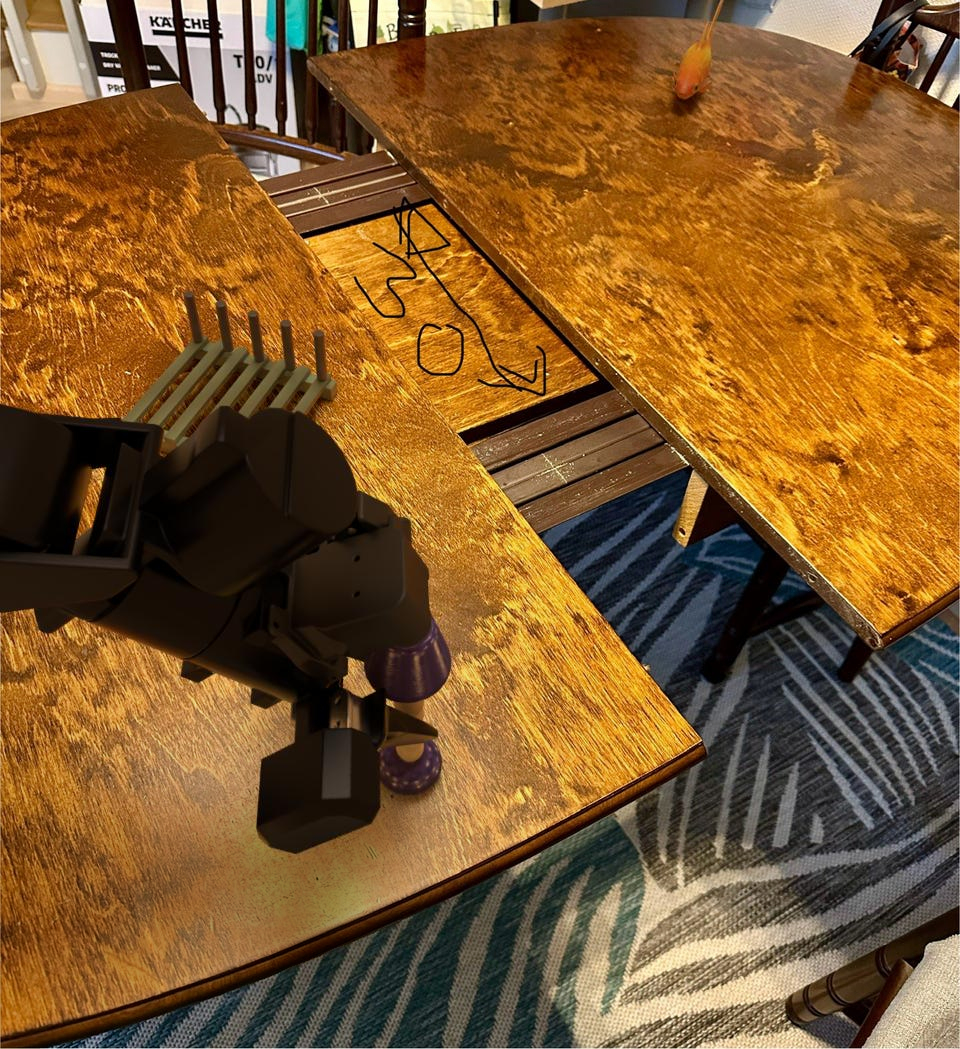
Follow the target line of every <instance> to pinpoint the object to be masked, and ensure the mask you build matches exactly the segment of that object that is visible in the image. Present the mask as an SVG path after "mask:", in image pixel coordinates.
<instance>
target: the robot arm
mask: <svg viewBox="0 0 960 1049" xmlns="http://www.w3.org/2000/svg"><path fill="white" fill-rule="evenodd" d="M211 412H212V411H211ZM211 412H210V413H211ZM210 413H209V414H210ZM209 414H208V415H206V417H205V418H203V419H202V421H200V423H199V424H198V425H197V428H196V429H195V430H194V432H193V433H192V434H191V435H190V436H188V438H187V439H186V440H185V441H184V442H182V443H181V444H180V445H179V446H177V447H176V448H175V449H174V450H172V451H171V452H170V453H166V455H165V456H163V455H161V454H162V451H161V450H162V444H163V439H164V433H165V432H164V430H165V428H163V427H161V426H159V425H157V424H149V423H148V422H142V423H138V422H128V421H122V419H123V418H122V417H119V416H117V417H116V416H115V417H93V418H92V417H87V416H84V417H83V416H75V415H64V414H53V413H43V412H34V411H32V410H28V409H24V408H22V407H21V408H20V407H16V406H12V405H8V404H4V403H0V614H5V613H12V612H20V611H27V610H33V611H34V618H35V622H36V625H37V629H38V631H40V633H42V634H46V635H51V634H55V633H56V632H57V631H59V630H60V629H62V628H63V627H65V626H66V625H67V624H69V623H70V622H71V621H73V620H74V619H75V618H76V619H79V620H82V621H85V622H86V623H89V624H91V625H94V626H96V627H99V628H101V629H104V630H106V631H109V632H111V633H114V634H117V635H119V636H120V637H124V638H127V639H128V640H132V641H133V642H136V643H138V644H141V645H144V646H145V647H149V648H151V649H154V650H156V651H158V652H161V653H163V654H166V655H168V656H171V657H174V658H176V659H179V660H181V661H182V664H181V669H180V678H183V679H185V680H189V681H191V682H194V683H196V684H200V683H202V682H203V681H205V680H206V679H208V678H210V677H212V676H213V675H215V674H216V675H218V676H221V677H223V678H226V679H229V680H231V681H233V682H236V683H238V684H240V685H243V686H245V687H248V688H251V690H250V700H249V704H250V705H252V706H255V707H258V708H261V709H264V710H268V709H270V708H272V707H273V706H275V705H277V704H280V703H281V702H286V703H289V704H290V714H289V715H290V716H289V717H290V718H289V725H290V726H291V727H293V728H294V742H293V743H291V744H288V745H287V746H284V747H282V748H280V749H279V750H277V751H274V752H272V753H271V754H268V755H266V756H264V757H262V758H260V769H259V770H260V771H259V782H258V793H257V794H258V796H257V809H256V821H255V829H256V833H257V837H258V839H259V840H261V841H262V842H263V843H264V844H265V845H266V846H267V847H268V848H271V849H274V850H278V851H281V852H285V853H289V854H293V855H298V854H300V853H304V852H306V851H308V850H311V849H313V848H315V847H318V846H320V845H323V844H325V843H328V842H330V841H333V840H335V839H338V838H341V837H342V836H345V835H347V834H350V833H353V832H355V831H357V830H360V829H362V828H365V827H368V826H370V825H372V824H373V822H374V821H375V819H376V817H377V815H378V814H379V812H380V810H381V808H382V805H381V803H382V799H381V796H382V795H381V794H382V793H381V780H380V753H379V750H380V748H388V747H396V746H404V745H413V744H421V743H427V742H429V741H431V740H433V741H435V740H436V739H438V738H439V736H440V735H439V729H437V728H435V727H434V726H433V725H431V724H430V723H428V722H426V721H424V719H423V720H420V719H418V718H416V717H414V716H411V715H409V714H407V713H404V712H402V711H400V710H398V709H395V708H394V707H393V706H390V705H388V704H387V699H386V689H385V688H384V687H383V688H381V689H379V690H377V691H375V690H374V691H373V692H371V693H369V694H367V695H365V696H363V697H362V696H360V695H357V694H356V693H355V694H354V693H353V692H352V691H351V690H349V689H347V688H345V687H344V677H346V676H348V675H349V659H352V660H355V661H358V662H362V663H364V658H365V655H366V654H370V653H374V652H378V651H381V650H385V649H389V648H393V647H397V646H404V647H406V646H410V645H414V644H416V643H418V642H420V641H422V640H423V639H424V638H425V637H426V636H427V634H428V633H429V631H430V629H431V624H432V617H431V615H432V612H431V609H430V608H431V606H430V589H429V580H430V569H429V567H428V565H427V564H426V563H425V562H424V560H423V559H422V557H421V556H420V554H419V553H418V552H417V550H416V549H415V547H414V546H413V535H412V534H413V531H412V521H411V519H410V518H408V517H406V516H398V514H396V513H395V511H394V510H393V508H392V507H391V506H390V504H388V503H386V502H385V501H383V500H380V499H379V498H376V497H374V496H372V495H371V494H369V493H367V492H364V491H362V490H358V486H357V481H356V478H355V476H354V473H353V470H352V467H351V465H350V464H349V462H348V460H347V458H346V456H345V454H344V452H343V451H342V449H341V448H340V447H339V445H338V444H337V443H336V441H335V440H334V438H332V436H331V435H330V434H329V433H328V432H327V431H326V430H325V428H323V427H322V426H321V425H320V424H318V423H317V422H316V421H315V420H314V419H312V418H311V417H310V416H308V414H307V415H305V414H303V413H302V412H300V411H296V412H293V411H290V410H288V409H286V408H285V409H282V408H272V407H269V406H268V407H266V408H265V407H264V408H262V409H258V410H257V411H256V412H255V414H254V415H252V416H251V417H250V418H247V417H245V416H244V415H242V414H240V413H239V411H237V410H236V409H234V407H233V408H231V407H229V406H219V407H218V408H217V409H216V410H214V411H213V412H212V413H211V414H210V415H209ZM98 469H105V470H104V473H103V474H104V475H103V478H102V483H101V487H100V491H99V496H98V501H97V505H96V510H95V513H94V519H93V522H92V526H91V527H89V528H88V529H86V531H84V532H83V533H81V534H80V535H79V536H78V532H79V527H80V523H81V521H82V520H81V519H82V516H83V511H84V507H85V503H86V498H87V495H88V490H89V487H90V482H91V478H92V474H93V470H98Z"/></svg>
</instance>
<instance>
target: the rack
mask: <svg viewBox="0 0 960 1049" xmlns="http://www.w3.org/2000/svg"><path fill="white" fill-rule="evenodd" d="M182 295H183V300H184V305H185V309H186V310H185V311H186V314H187V319H188V324H189V327H190V333H191V337H192V339H191V340H190V341H189V342H188V343H187V346H185V347H184V349H183V350H182V351H181V352H180V353H179V355H178V356H177V357H176V358H175V359H174V360H173V361H172V362H171V364H170V365H169V366H168V367H167V368H166V369H165V370H164V372H163V373H162V374H161V375H160V376H159V377H158V378H157V379H156V381H155V382H153V384H152V385H151V386H150V388H148V389H147V391H146V392H145V393H144V394H143V395H142V396H141V397H140V399H139V400H138V401H137V402H136V403H135V404H134V405H133V407H132V408H131V409H130V410H129V411H128V412H127V413H126V415H125V416H123V417H122V418H121V419H122V421H128V422H138V423H143V422H141V421H142V419H143V418H144V417H145V416H146V415H147V414H148V413H149V412H150V410H151V409H152V408H153V407H154V406H155V405H156V403H158V401H159V400H160V399H161V397H162V396H163V395H164V394H165V393H166V392H167V390H168V389H170V387H171V386H172V385H173V384H174V382H175V381H176V380H178V378H179V377H180V376H181V374H183V372H184V371H185V370H186V369H187V368H188V366H190V364H191V363H192V362H193V361H194V359H196V360H198V361H199V362H198V363H197V364H196V366H194V367H193V369H192V370H191V371H190V372H189V373H188V374H187V376H186V377H185V378H184V379H183V381H182V382H181V383H180V384H179V385H178V386H177V388H176V389H175V390H174V391H173V392H172V393H171V394H170V396H168V398H167V399H166V400H165V401H164V403H163V404H162V405H161V406H160V407H159V408H158V409H157V411H156V412H155V413H154V414H153V415H152V416H151V417H150V419H149V420H148V421H147V423H149V424H157V425H159V426H161V427H162V428H163V427H164V426H165V425H166V424H167V423H168V421H169V420H170V419H171V418H172V417H173V415H174V414H175V413H176V411H177V410H178V409H179V408H180V407H181V406H182V404H183V403H184V402H185V401H186V399H188V397H189V396H190V395H191V394H192V393H193V392H194V390H195V389H196V388H197V387H198V386H199V384H200V383H201V382H202V381H203V379H204V378H205V377H206V376H207V374H209V372H210V371H211V370H212V369H213V368H214V366H218V367H220V368H219V369H218V370H217V371H216V372H215V374H214V375H213V376H212V377H211V378H210V380H209V381H208V382H207V384H205V386H204V387H203V389H201V391H200V392H199V393H198V394H197V395H196V397H195V398H194V399H193V400H192V401H191V403H190V404H189V406H187V408H186V409H185V410H184V411H183V413H182V414H181V415H180V416H179V417H178V418H177V419H176V420H175V422H174V424H172V426H171V427H169V429H168V430H167V429H164V432H165V433H164V439H163V444H162V450H161V452H163V453H165V454H169V453H170V452H171V451H172V450H174V449H175V448H176V447H177V446H179V445H180V444H181V443H182V442H184V441H185V440H186V439H187V438H189V436H185V434H186V433H187V432H188V431H189V429H190V428H191V426H192V425H193V424H194V423H195V422H196V420H197V419H198V418H199V417H200V415H201V414H202V413H203V412H204V411H205V409H206V408H207V407H208V406H209V404H210V403H212V400H213V399H214V398H215V397H216V396H217V395H218V393H219V392H220V391H221V389H222V388H223V387H224V386H225V384H226V383H227V382H228V381H229V379H231V377H232V376H233V375H234V373H235V372H237V373H241V374H240V375H239V377H238V378H237V379H236V380H235V381H234V382H233V384H232V385H231V386H230V388H229V389H228V390H227V391H226V393H225V394H224V395H223V396H222V398H221V399H220V400H219V402H218V403H217V404H216V405H215V407H214V408H213V409H212V410H211V412H209V414H208V415H210V414H211V413H212V412H213V411H214V410H216V409H217V408H218V407H219V406H229V407H231V408H233V409H234V407H235V406H236V404H237V403H238V402H239V400H240V399H241V397H242V396H243V395H244V394H245V392H246V391H247V390H248V389H249V387H250V386H251V385H252V383H253V382H254V381H255V380H256V378H257V379H260V380H262V381H261V382H260V383H259V385H258V386H257V387H256V389H255V390H254V391H253V392H252V394H251V395H250V396H249V398H248V399H247V400H246V401H245V402H244V404H243V405H242V407H241V408H240V409H239V411H238V412H239V413H240V414H242V415H244V416H245V417H247V418H250V417H251V416H252V415H254V414H255V413H256V412H257V411H259V409H260V407H261V406H262V405H263V403H265V401H266V399H267V398H268V397H269V396H270V394H271V392H272V391H273V390H274V389H275V387H276V386H277V385H279V386H283V387H282V389H281V390H280V391H279V393H278V394H277V395H276V397H275V398H274V400H272V402H271V403H270V405H269V406H268V408H269V407H272V408H282V409H285V410H286V408H287V407H288V405H289V404H290V402H291V401H292V400H293V398H294V397H295V396H296V394H297V393H298V392H301V393H304V395H303V396H302V398H301V399H300V401H299V402H298V403H297V404H296V406H295V407H294V409H293V410H292V412H296V411H300V412H302V413H303V414H305V415H307V416H308V414H309V412H310V411H311V409H312V408H313V407H314V405H315V403H317V401H318V400H319V398H320V399H324V400H327V401H330V402H332V401H333V400H334V399H335V397H336V396H337V394H339V393H338V392H339V391H338V381H337V380H335V379H332V374H331V373H328V368H327V367H328V366H327V352H326V339H325V332H324V330H322V329H316V330H314V331H313V333H312V336H313V348H314V349H313V350H314V360H315V369H316V370H315V372H316V374H315V373H312V372H311V367H308V366H306V365H302V364H300V365H298V367H297V364H296V355H295V347H294V338H293V337H294V336H293V327H292V321H291V320H289V319H283V320H281V321H280V322H279V325H280V336H281V343H282V352H283V358H279V359H278V360H277V361H273V360H270V355H269V354H267V353H265V349H264V343H263V335H262V329H261V320H260V315H259V314H260V313H259V311H257V310H256V309H249V311H247V321H248V327H249V333H250V341H251V346H252V352H253V354H250V350H249V348H246V347H243V346H239V345H238V346H237V347H236V348H235V346H234V340H233V335H232V334H233V333H232V329H231V324H230V318H229V317H230V316H229V311H228V306H227V302H226V301H225V300H222V299H220V300H217V301H215V303H214V305H215V312H216V316H217V321H218V322H217V323H218V327H219V332H220V336H221V338H220V339H221V340H220V339H217V341H216V342H215V343H214V342H211V341H210V340H209V336H207V335H205V334H203V329H202V324H201V320H200V315H199V310H198V306H197V299H196V296H195V292H194V291H193V290H186V291H184V292H183V294H182Z"/></svg>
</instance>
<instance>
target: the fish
mask: <svg viewBox="0 0 960 1049" xmlns="http://www.w3.org/2000/svg"><path fill="white" fill-rule="evenodd" d="M724 2H725V1H724V0H720V1H719V3H718V5H717V8H716V11H715V14H714V15H713V19H712V21H711V24H710V19H707V23H706V25H705V27H704V29H703V31H702V35H701V37H700V40H699V41H697V42H695V43H694V44H692V45H691V46H690V47H689V48H688V49H687V50H686V52H685V54H684V55H683V57H682V59H681V62H680V63H679V66H678V69H677V71H675V70H672V78H673V85H674V90H675V92H676V95H677V97H678V99H681V100H687V99H689V98H691V97H692V96H694V95H695V94H696V93H701V94H702V93H703V92H705V91H707V89H709V88H710V86H711V85H712V84H713V83H714V80H711V77H708V75H709V74H710V71H711V69H712V67H713V63H712V60H713V58H712V46H713V39H714V30H713V27H714V25H715V24H716V22H717V19H718V16H719V14H720V12H721V9H722V7H723V3H724ZM709 24H710V25H709ZM675 72H676V73H675Z"/></svg>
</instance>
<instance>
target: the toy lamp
mask: <svg viewBox="0 0 960 1049" xmlns="http://www.w3.org/2000/svg"><path fill="white" fill-rule="evenodd" d="M431 617H432V624H431V629H430V631H429V633H428V634H427V636H426V637H425V638H424V639H423V640H422V641H420V642H418V643H416V644H414V645H410V646H406V647H404V646H397V647H393V648H389V649H385V650H381V651H378V652H374V653H370V654H366V655H365V658H364V662H363V670H364V675H365V678H366V680H367V682H368V683H369V686H370V687H371V688H372V689H373V690H374V692H375V691H377V690H379V689H381V688H383V687H384V688H385V689H386V700H389V701H390V702H392V704H393V706H394V707H393V708H395V709H398V710H400V711H402V712H404V713H407V714H409V715H411V716H414V717H416V718H418V719H420V720H423V721H424V718H425V710H424V706H425V701H426V700H427V699H430V698H431V697H433V696H435V695H436V694H437V693H438V692H439V691H440V690H441V689H442V688H443V686H445V684H446V683H447V680H449V677H450V674H451V670H452V656H451V651H450V648H449V646H448V642H447V641H446V639H445V637H444V634H443V632H442V630H441V629H440V626H439V625H438V622H437V620H436V619H435V617H434V616H433V614H431ZM378 752H379V753H380V783H382V784H383V785H384V787H385V788H387V790H389V791H391V792H393V793H395V794H396V795H397V794H398V795H401V796H406V797H407V796H417V795H420V794H423V793H425V792H427V791H428V790H430V789H431V788H432V787H434V786H435V785H436V783H437V782H438V780H439V778H440V776H441V773H442V769H443V768H442V767H443V756H442V753H441V751H440V748H439V746H438V745H437V743H436V742H435V740H431V741H429V742H427V743H421V744H413V745H404V746H396V747H388V748H380V749H378Z"/></svg>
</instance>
